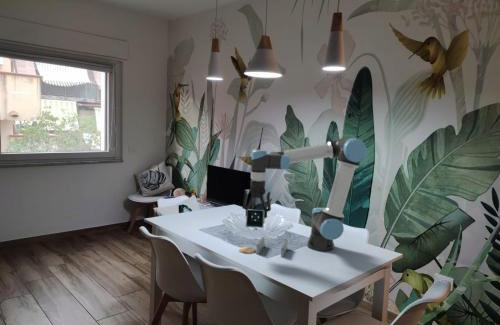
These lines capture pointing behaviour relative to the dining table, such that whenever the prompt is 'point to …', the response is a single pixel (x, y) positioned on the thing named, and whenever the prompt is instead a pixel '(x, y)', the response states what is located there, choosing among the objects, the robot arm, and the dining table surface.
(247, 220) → the flower pot
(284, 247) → the grey holder
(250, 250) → the cork mat
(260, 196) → the robot arm
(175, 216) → the dining table surface
